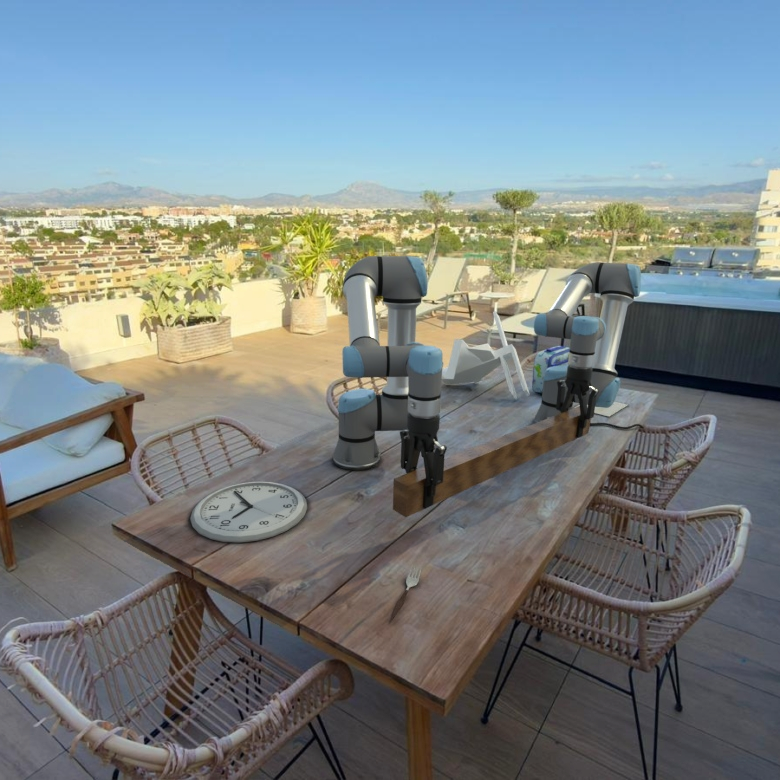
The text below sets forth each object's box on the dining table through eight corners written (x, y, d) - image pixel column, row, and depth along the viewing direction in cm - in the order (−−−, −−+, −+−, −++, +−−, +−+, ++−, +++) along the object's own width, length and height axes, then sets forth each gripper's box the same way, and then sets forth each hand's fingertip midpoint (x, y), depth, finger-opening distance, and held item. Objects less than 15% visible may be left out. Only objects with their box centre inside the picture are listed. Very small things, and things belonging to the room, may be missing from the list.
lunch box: (548, 399, 235) (554, 353, 228) (527, 393, 242) (532, 349, 236) (576, 387, 252) (581, 345, 246) (555, 383, 259) (560, 341, 253)
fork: (385, 619, 101) (385, 611, 101) (410, 571, 116) (411, 563, 115) (398, 623, 100) (398, 614, 100) (422, 574, 115) (422, 566, 114)
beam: (575, 429, 178) (579, 406, 176) (588, 433, 175) (592, 409, 172) (392, 509, 126) (393, 478, 123) (405, 517, 122) (406, 485, 120)
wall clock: (302, 534, 126) (174, 538, 123) (303, 540, 126) (175, 544, 124) (310, 477, 154) (206, 479, 152) (310, 482, 155) (206, 484, 152)
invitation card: (608, 416, 214) (573, 407, 224) (608, 416, 214) (573, 408, 224) (628, 404, 229) (594, 396, 238) (628, 405, 229) (594, 397, 238)
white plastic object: (461, 429, 252) (437, 405, 227) (444, 352, 274) (420, 323, 250) (535, 404, 240) (518, 377, 215) (510, 326, 262) (492, 293, 237)
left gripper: (386, 406, 125) (384, 492, 132) (440, 429, 112) (435, 522, 120) (409, 399, 129) (406, 483, 137) (463, 420, 117) (457, 511, 124)
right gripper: (548, 362, 168) (541, 429, 176) (600, 374, 156) (590, 445, 163) (561, 358, 173) (554, 423, 181) (613, 369, 160) (602, 439, 168)
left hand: (420, 501), depth 128 cm, fingers closed on beam, 5 cm apart
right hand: (571, 434), depth 172 cm, fingers closed on beam, 5 cm apart
